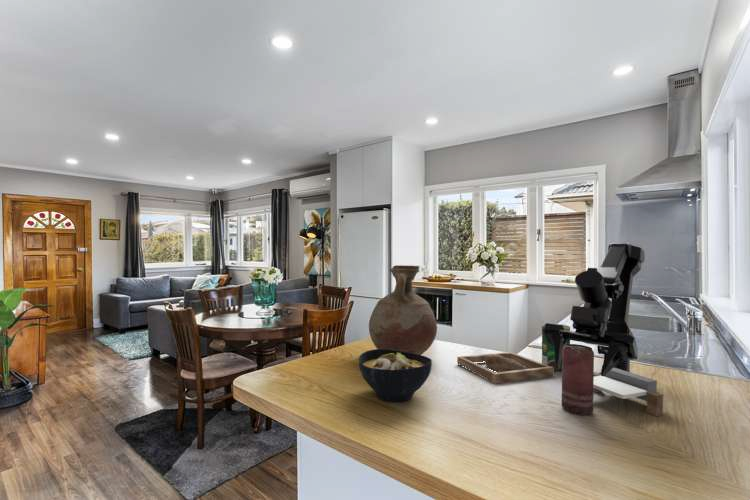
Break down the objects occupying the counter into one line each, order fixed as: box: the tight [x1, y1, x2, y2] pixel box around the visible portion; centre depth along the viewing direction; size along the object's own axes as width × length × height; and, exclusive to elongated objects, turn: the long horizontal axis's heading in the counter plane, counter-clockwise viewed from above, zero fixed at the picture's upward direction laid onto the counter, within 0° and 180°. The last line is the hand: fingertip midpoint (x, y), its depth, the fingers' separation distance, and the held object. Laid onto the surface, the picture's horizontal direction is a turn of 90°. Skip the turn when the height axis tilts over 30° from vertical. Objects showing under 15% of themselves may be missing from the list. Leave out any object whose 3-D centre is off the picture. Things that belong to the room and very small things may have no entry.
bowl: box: [358, 348, 433, 403], centre depth 88 cm, size 17×17×10 cm
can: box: [561, 343, 595, 416], centre depth 82 cm, size 6×6×14 cm
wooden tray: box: [456, 351, 555, 384], centre depth 109 cm, size 20×17×2 cm
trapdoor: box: [593, 368, 658, 402], centre depth 87 cm, size 12×12×4 cm
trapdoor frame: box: [593, 371, 664, 417], centre depth 87 cm, size 2×16×4 cm, turn 21°
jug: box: [368, 264, 438, 356], centre depth 118 cm, size 22×22×30 cm
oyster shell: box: [485, 353, 529, 372], centre depth 110 cm, size 10×12×5 cm
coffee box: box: [541, 324, 571, 371], centre depth 112 cm, size 8×3×13 cm, turn 101°
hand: (578, 370), depth 83 cm, fingers open, 9 cm apart
